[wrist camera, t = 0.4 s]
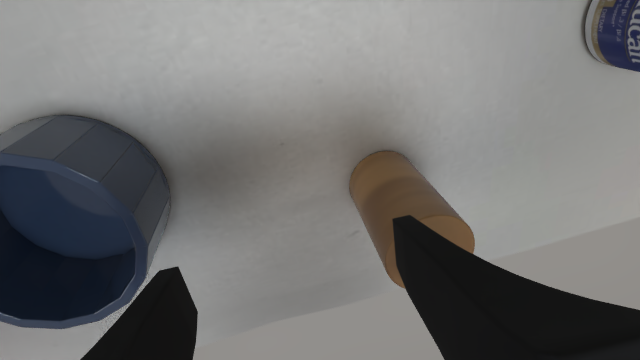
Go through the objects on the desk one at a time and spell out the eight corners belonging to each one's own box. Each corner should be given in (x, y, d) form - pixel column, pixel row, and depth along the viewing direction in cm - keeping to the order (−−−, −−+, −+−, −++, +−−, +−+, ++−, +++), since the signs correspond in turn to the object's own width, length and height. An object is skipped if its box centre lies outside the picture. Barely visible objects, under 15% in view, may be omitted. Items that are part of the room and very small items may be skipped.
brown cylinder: (415, 203, 23) (473, 280, 17) (353, 217, 23) (388, 299, 17) (413, 144, 21) (477, 206, 15) (345, 158, 21) (381, 226, 15)
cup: (191, 242, 22) (174, 304, 18) (40, 274, 22) (-15, 347, 17) (135, 99, 18) (96, 133, 14) (-51, 134, 18) (-154, 182, 13)
